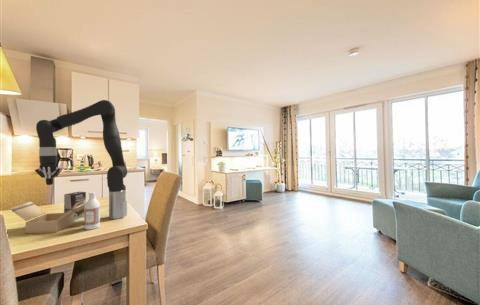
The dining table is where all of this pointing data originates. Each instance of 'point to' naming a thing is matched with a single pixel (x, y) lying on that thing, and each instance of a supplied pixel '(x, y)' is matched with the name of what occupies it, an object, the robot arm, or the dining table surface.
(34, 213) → the flap
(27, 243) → the dining table surface
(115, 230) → the dining table surface
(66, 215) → the flap
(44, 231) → the carton
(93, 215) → the bath foam
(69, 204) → the coffee box
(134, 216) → the dining table surface
